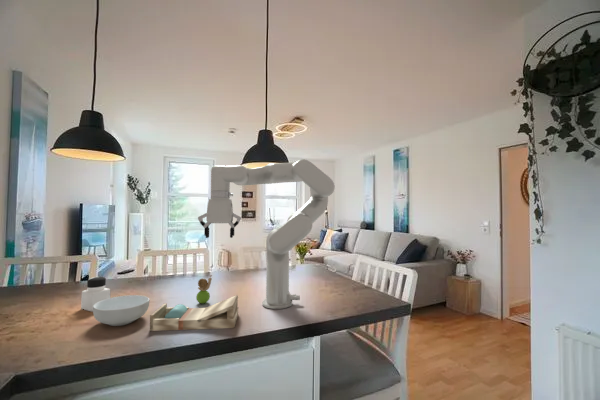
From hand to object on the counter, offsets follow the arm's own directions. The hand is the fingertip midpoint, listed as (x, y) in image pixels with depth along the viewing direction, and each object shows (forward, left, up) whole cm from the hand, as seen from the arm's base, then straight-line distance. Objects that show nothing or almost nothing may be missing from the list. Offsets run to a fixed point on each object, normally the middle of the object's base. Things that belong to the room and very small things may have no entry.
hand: (219, 237), depth 116 cm
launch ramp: (+4, +15, -28) cm, 32 cm away
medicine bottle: (+49, -4, -28) cm, 57 cm away
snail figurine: (+7, -6, -28) cm, 30 cm away
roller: (+12, +15, -26) cm, 32 cm away
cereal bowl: (+31, +12, -29) cm, 44 cm away
